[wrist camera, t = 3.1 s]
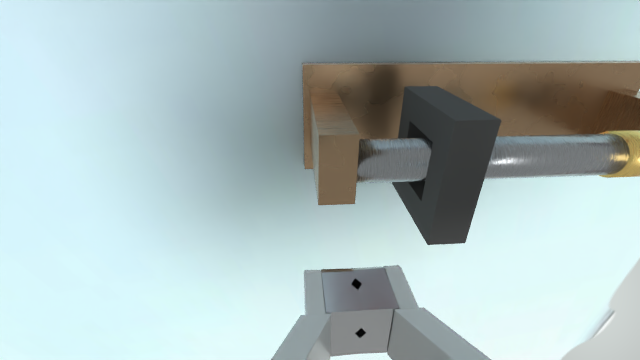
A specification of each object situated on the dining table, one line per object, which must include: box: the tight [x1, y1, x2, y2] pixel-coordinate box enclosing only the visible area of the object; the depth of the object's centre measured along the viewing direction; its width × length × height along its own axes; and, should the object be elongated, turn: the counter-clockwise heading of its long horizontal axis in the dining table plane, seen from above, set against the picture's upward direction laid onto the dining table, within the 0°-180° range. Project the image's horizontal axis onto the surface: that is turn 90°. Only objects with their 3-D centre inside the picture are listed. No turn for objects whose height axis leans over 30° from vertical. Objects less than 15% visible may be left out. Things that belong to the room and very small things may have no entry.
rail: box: [302, 61, 640, 205], centre depth 21 cm, size 26×8×9 cm, turn 90°
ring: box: [392, 86, 501, 245], centre depth 17 cm, size 2×7×7 cm, turn 0°
